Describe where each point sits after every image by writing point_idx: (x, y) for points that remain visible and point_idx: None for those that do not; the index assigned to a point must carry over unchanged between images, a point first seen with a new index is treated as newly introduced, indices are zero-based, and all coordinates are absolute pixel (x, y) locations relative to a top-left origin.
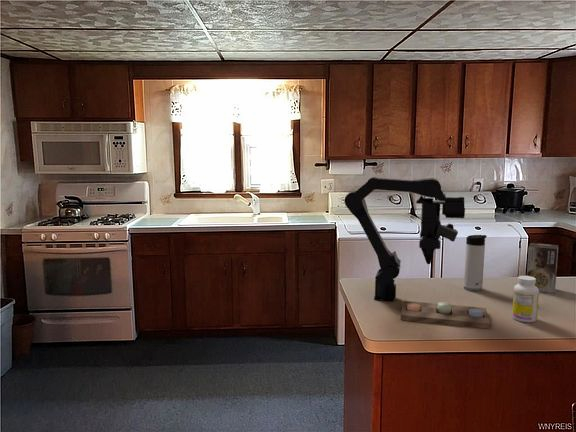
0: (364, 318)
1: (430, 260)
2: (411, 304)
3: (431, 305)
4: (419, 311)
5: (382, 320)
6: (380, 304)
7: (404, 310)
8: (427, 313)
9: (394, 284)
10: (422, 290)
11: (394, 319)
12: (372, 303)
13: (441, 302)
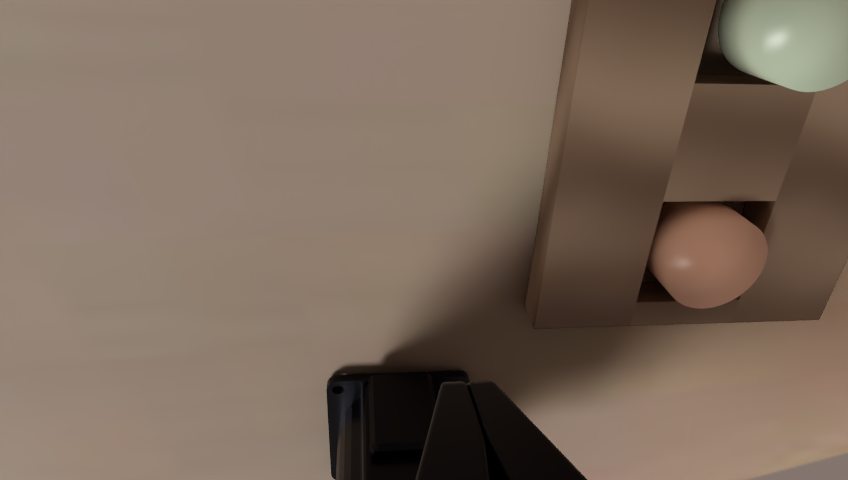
0: (756, 457)
1: (540, 442)
2: (691, 282)
3: (628, 122)
4: (732, 209)
5: (793, 383)
6: None
7: (739, 307)
8: (813, 156)
9: (389, 457)
10: (80, 184)
11: (784, 331)
12: None
13: (779, 51)
